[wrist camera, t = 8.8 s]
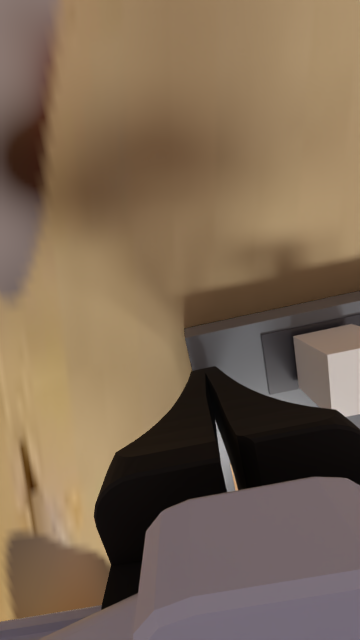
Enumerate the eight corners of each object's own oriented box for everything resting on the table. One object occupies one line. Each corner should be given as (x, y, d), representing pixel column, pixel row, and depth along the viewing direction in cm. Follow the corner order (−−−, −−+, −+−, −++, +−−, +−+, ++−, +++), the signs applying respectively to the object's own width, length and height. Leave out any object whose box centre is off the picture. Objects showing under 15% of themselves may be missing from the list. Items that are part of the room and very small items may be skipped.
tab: (354, 376, 11) (403, 405, 9) (298, 387, 12) (332, 419, 9) (351, 324, 11) (404, 339, 8) (293, 336, 11) (327, 354, 8)
